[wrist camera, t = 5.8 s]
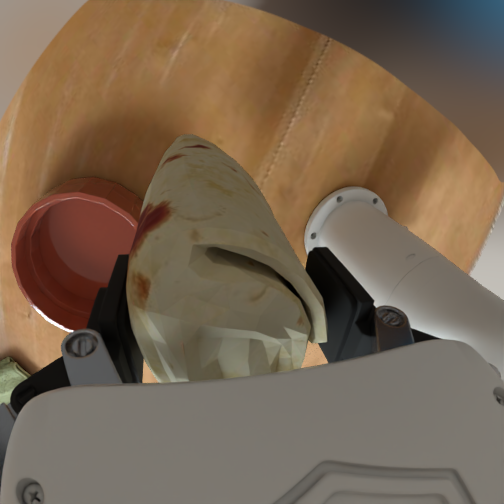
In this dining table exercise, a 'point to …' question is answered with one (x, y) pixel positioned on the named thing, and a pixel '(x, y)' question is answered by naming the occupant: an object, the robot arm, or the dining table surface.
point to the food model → (216, 274)
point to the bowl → (73, 247)
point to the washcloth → (10, 378)
